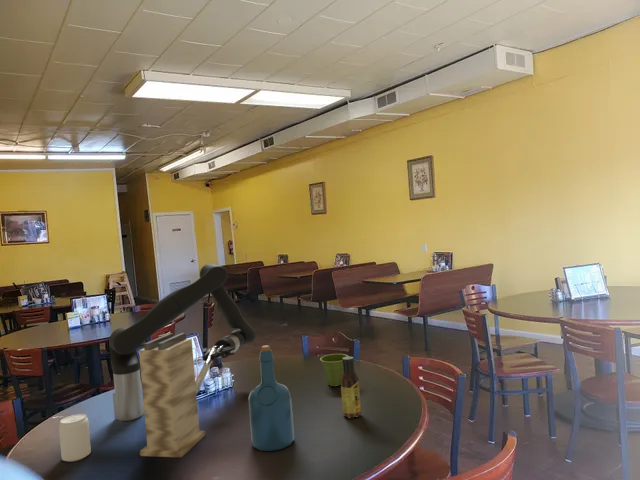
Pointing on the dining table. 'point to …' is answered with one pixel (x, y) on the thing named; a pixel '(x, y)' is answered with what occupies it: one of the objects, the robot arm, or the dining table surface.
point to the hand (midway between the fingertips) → (207, 358)
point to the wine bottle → (270, 409)
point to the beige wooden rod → (204, 371)
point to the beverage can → (74, 437)
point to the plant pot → (333, 368)
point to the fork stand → (169, 396)
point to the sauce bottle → (350, 389)
